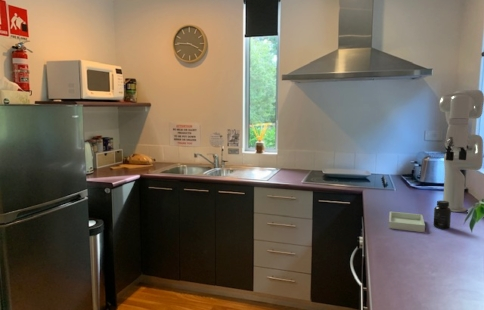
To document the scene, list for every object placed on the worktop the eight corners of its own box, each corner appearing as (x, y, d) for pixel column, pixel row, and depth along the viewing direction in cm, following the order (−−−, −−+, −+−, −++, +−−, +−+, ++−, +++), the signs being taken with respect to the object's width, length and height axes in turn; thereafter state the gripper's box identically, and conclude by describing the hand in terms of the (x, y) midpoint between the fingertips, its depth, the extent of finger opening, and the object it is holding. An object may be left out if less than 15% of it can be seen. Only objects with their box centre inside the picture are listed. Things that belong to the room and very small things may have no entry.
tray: (389, 217, 182) (389, 211, 182) (421, 220, 176) (422, 214, 176) (388, 228, 166) (389, 221, 165) (424, 232, 160) (424, 225, 160)
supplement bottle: (434, 223, 172) (436, 199, 170) (451, 226, 168) (453, 201, 166) (431, 227, 167) (433, 201, 165) (448, 230, 162) (450, 204, 161)
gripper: (461, 123, 173) (459, 159, 174) (438, 122, 165) (436, 159, 166) (478, 123, 166) (475, 160, 168) (455, 122, 158) (452, 161, 160)
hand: (456, 160), depth 167 cm, fingers open, 9 cm apart
